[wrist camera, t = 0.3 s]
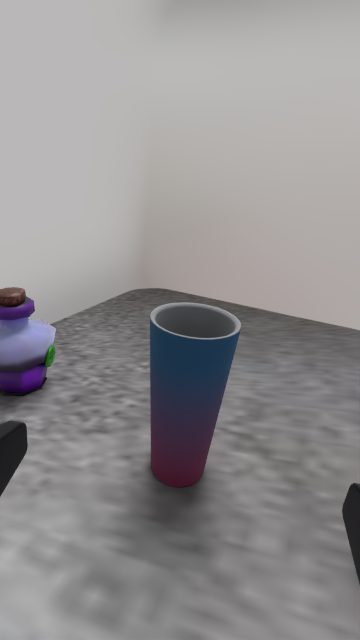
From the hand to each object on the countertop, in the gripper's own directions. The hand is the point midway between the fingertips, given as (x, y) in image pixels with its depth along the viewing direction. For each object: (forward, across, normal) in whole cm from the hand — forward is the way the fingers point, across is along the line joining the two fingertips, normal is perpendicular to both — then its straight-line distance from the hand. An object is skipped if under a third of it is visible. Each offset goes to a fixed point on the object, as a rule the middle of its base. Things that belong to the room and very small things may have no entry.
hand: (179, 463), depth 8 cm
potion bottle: (+24, +21, +15) cm, 35 cm away
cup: (+16, +1, +16) cm, 22 cm away
